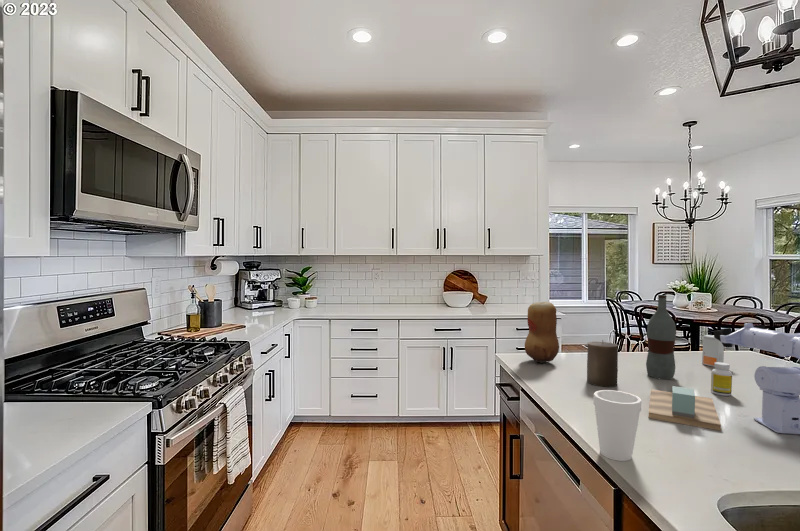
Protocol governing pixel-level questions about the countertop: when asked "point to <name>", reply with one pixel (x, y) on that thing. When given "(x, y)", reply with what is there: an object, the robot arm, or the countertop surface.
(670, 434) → the countertop surface
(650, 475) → the countertop surface
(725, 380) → the supplement bottle
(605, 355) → the pillar candle
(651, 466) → the countertop surface
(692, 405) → the block
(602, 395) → the foam cup
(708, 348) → the skincare box
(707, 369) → the countertop surface
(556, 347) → the butternut squash
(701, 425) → the oak board
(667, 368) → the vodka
